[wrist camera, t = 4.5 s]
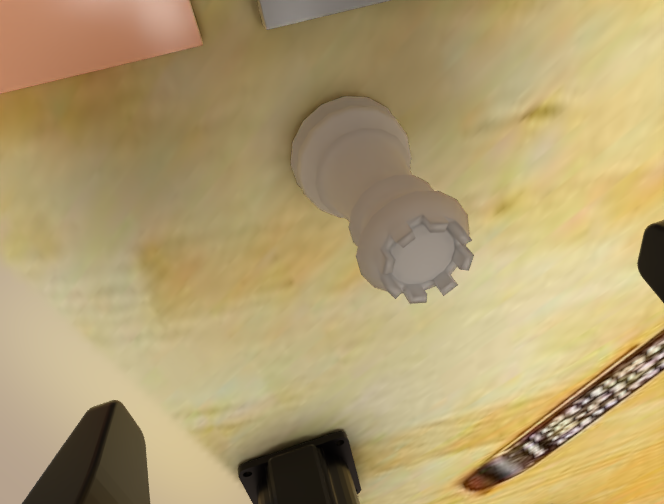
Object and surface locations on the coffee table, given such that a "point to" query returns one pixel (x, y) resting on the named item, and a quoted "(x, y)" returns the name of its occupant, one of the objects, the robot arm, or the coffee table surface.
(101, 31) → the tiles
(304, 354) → the coffee table surface
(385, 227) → the rook chess piece
